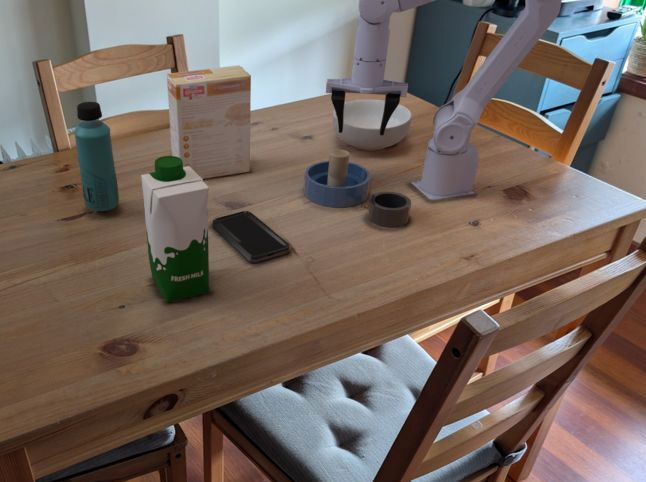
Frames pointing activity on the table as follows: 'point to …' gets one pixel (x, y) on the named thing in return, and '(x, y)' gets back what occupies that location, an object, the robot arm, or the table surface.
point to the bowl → (336, 196)
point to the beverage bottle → (96, 159)
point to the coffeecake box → (211, 119)
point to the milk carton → (177, 229)
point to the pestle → (338, 168)
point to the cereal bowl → (371, 125)
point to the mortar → (389, 209)
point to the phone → (250, 236)
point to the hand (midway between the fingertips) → (361, 132)
